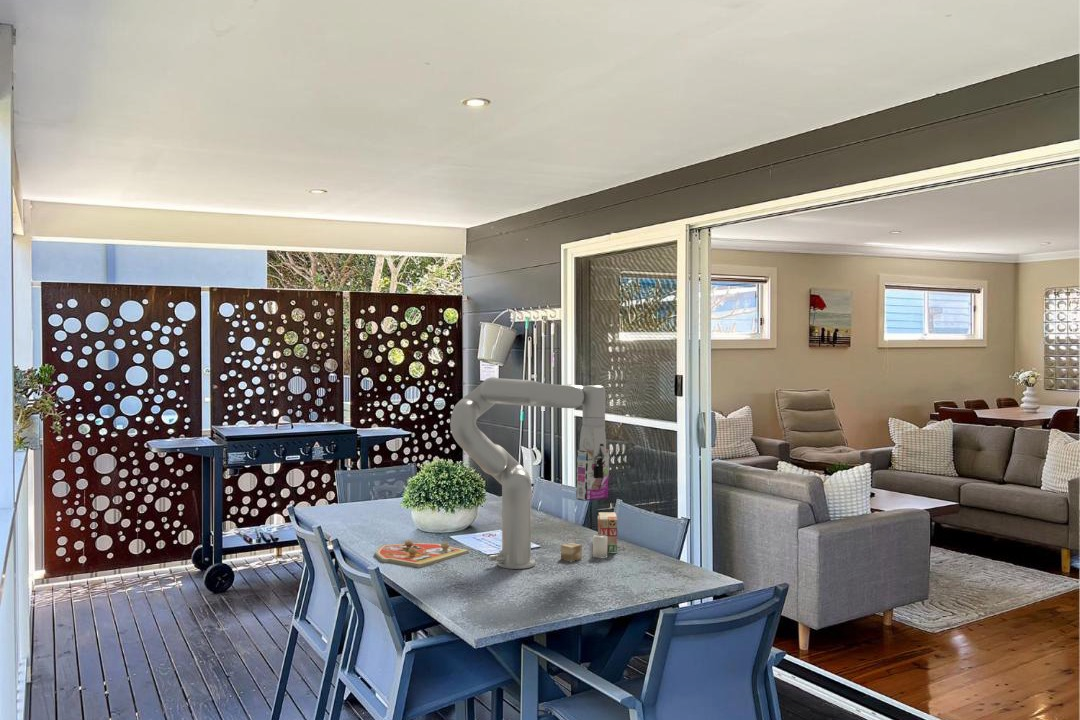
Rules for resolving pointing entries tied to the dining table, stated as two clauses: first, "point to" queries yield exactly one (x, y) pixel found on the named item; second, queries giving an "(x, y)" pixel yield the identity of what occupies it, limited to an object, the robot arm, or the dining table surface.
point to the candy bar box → (591, 477)
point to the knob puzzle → (417, 553)
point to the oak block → (571, 551)
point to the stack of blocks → (608, 529)
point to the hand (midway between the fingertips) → (593, 476)
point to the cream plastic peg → (599, 545)
